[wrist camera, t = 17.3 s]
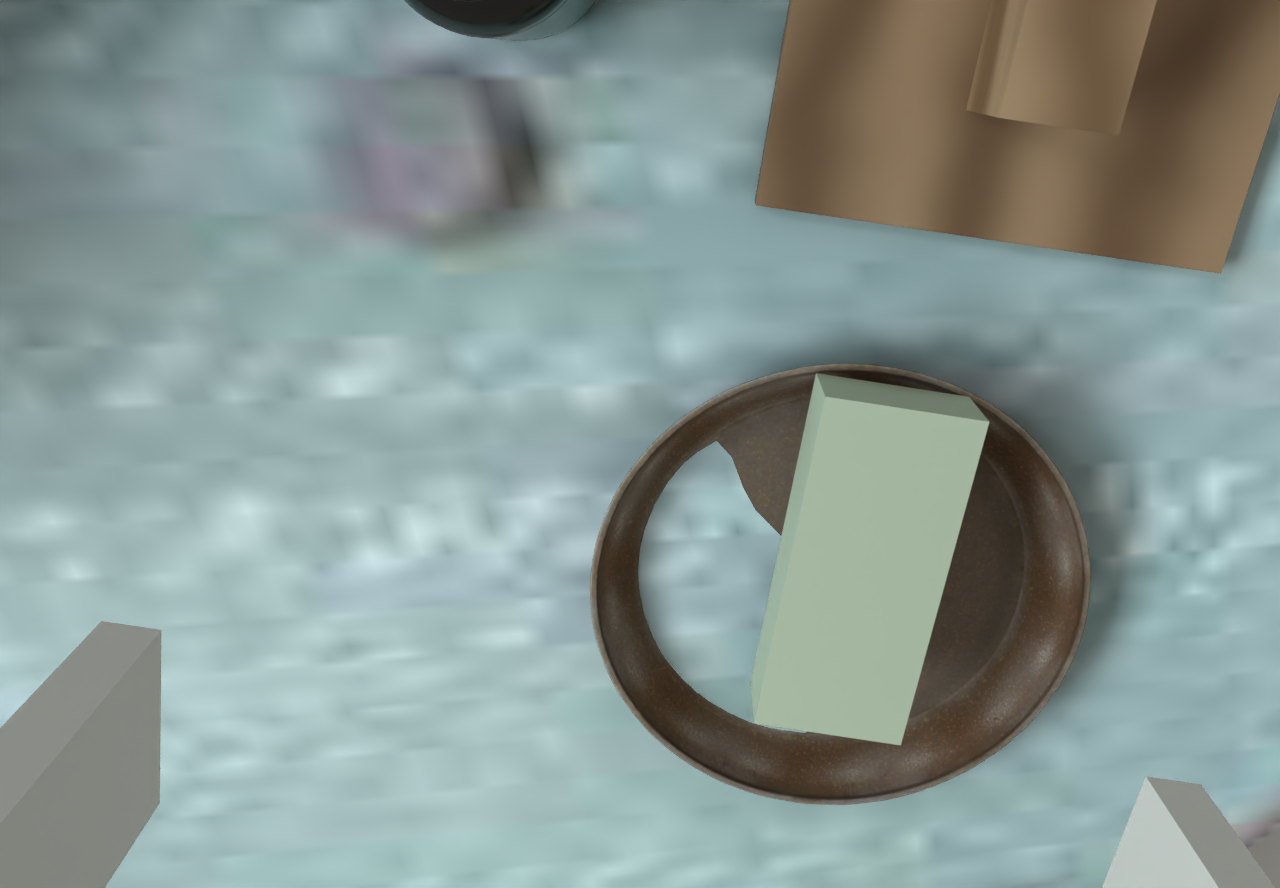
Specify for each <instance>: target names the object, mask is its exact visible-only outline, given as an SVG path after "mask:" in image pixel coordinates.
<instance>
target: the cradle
mask: <svg viewBox="0 0 1280 888" xmlns="http://www.w3.org/2000/svg"><path fill="white" fill-rule="evenodd" d="M1279 94H1280V0H790V1H789V7H788V13H787V19H786V24H785V30H784V36H783V42H782V47H781V53H780V59H779V65H778V70H777V76H776V82H775V88H774V94H773V99H772V105H771V111H770V117H769V122H768V128H767V134H766V140H765V145H764V151H763V157H762V163H761V169H760V174H759V180H758V186H757V192H756V197H755V203H756V205H758V206H765V207H771V208H778V209H785V210H792V211H799V212H805V213H812V214H819V215H826V216H833V217H839V218H846V219H853V220H860V221H867V222H873V223H880V224H887V225H894V226H901V227H908V228H914V229H921V230H928V231H935V232H942V233H948V234H955V235H962V236H969V237H976V238H982V239H989V240H996V241H1003V242H1010V243H1016V244H1023V245H1030V246H1037V247H1044V248H1050V249H1057V250H1064V251H1071V252H1078V253H1085V254H1091V255H1098V256H1105V257H1112V258H1119V259H1125V260H1132V261H1139V262H1146V263H1153V264H1159V265H1166V266H1173V267H1180V268H1187V269H1193V270H1200V271H1207V272H1214V273H1221V272H1222V269H1223V266H1224V263H1225V259H1226V256H1227V253H1228V250H1229V247H1230V244H1231V241H1232V238H1233V235H1234V232H1235V229H1236V226H1237V223H1238V220H1239V217H1240V214H1241V210H1242V207H1243V204H1244V201H1245V198H1246V195H1247V192H1248V189H1249V186H1250V183H1251V180H1252V177H1253V174H1254V171H1255V168H1256V164H1257V161H1258V158H1259V155H1260V152H1261V149H1262V146H1263V143H1264V140H1265V137H1266V134H1267V131H1268V128H1269V125H1270V122H1271V119H1272V115H1273V112H1274V109H1275V106H1276V103H1277V100H1278V97H1279Z"/></svg>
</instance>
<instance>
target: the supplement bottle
mask: <svg viewBox="0 0 1280 888" xmlns="http://www.w3.org/2000/svg"><path fill="white" fill-rule="evenodd" d="M404 1H405V2H406V3H407V4H408V5H409V6H410V7H412V8H413V9H414V10H415V11H416V12H418V13H419V14H420V15H422V16H423V17H425V18H426V19H428V20H429V21H431V22H433V23H435V24H436V25H438V26H441V27H443V28H445V29H447V30H450V31H453V32H456V33H459V34H463V35H467V36H472V37H481V38H491V39H501V40H512V41H527V40H536V39H541V38H545V37H549V36H552V35H554V34H557V33H559V32H561V31H563V30H565V29H566V28H568V27H570V26H571V25H572V24H574V23H575V22H577V21H578V20H579V19H580V18H581V17H582V16H583V15H584V14H585V13H586V12H587V11H588V10H589V9H590V8H591V6H592V5H593V4H594V2H595V1H596V0H404Z"/></svg>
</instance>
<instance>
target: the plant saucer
mask: <svg viewBox="0 0 1280 888" xmlns="http://www.w3.org/2000/svg"><path fill="white" fill-rule="evenodd" d="M816 373H818V374H825V375H831V376H838V377H844V378H851V379H857V380H864V381H870V382H877V383H883V384H890V385H896V386H903V387H909V388H915V389H922V390H928V391H935V392H941V393H948V394H954V395H961V396H967V397H970V398H971V400H972V401H973V402H974V403H975V405H976V406H977V407H978V408H979V410H980V411H981V412H982V413H983V414H984V416H985V417H986V418H987V419H988V421H989V425H988V429H987V433H986V436H985V440H984V443H983V447H982V451H981V454H980V458H979V462H978V465H977V469H976V473H975V476H974V480H973V484H972V487H971V491H970V495H969V498H968V502H967V506H966V509H965V513H964V516H963V520H962V524H961V527H960V531H959V535H958V538H957V542H956V546H955V549H954V553H953V557H952V560H951V564H950V568H949V571H948V575H947V578H946V582H945V586H944V589H943V593H942V597H941V600H940V604H939V608H938V611H937V615H936V619H935V622H934V626H933V630H932V633H931V637H930V641H929V644H928V648H927V651H926V655H925V659H924V662H923V666H922V670H921V673H920V677H919V681H918V684H917V688H916V692H915V695H914V699H913V703H912V706H911V710H910V714H909V717H908V721H907V724H906V728H905V732H904V735H903V739H902V743H901V745H894V744H888V743H881V742H874V741H868V740H861V739H854V738H848V737H841V736H834V735H828V734H821V733H814V732H808V731H807V732H806V733H800V732H792V731H782V730H777V729H771V728H767V727H764V726H760V725H756V724H753V723H750V722H748V721H745V720H743V719H741V718H738V717H736V716H734V715H732V714H730V713H728V712H726V711H724V710H723V709H721V708H719V707H717V706H716V705H714V704H712V703H711V702H709V701H707V700H706V699H705V698H703V697H702V696H701V695H700V694H698V693H696V692H695V691H694V690H693V689H692V688H691V687H690V686H689V685H688V684H687V683H686V682H684V681H683V680H682V679H681V678H680V676H679V675H678V674H677V673H676V672H675V671H674V669H673V668H672V667H671V666H670V664H669V663H668V662H667V660H666V659H665V658H664V656H663V655H662V653H661V652H660V650H659V648H658V647H657V645H656V642H655V640H654V639H653V637H652V635H651V632H650V629H649V627H648V624H647V621H646V619H645V616H644V612H643V608H642V603H641V598H640V592H639V581H638V562H639V553H640V546H641V542H642V538H643V533H644V530H645V527H646V524H647V521H648V518H649V516H650V514H651V511H652V509H653V506H654V504H655V502H656V501H657V499H658V497H659V496H660V494H661V492H662V491H663V489H664V487H665V486H666V484H667V483H668V481H669V480H670V479H671V478H672V476H673V475H674V474H675V472H676V471H677V470H678V469H679V468H680V467H681V466H682V464H683V463H684V462H686V461H687V460H688V459H689V458H690V457H692V456H693V455H694V454H695V453H697V452H698V451H700V450H701V449H703V448H705V447H706V446H708V445H710V444H711V443H713V442H715V441H718V442H719V444H720V445H721V446H722V447H723V448H724V449H725V450H726V451H727V452H728V453H729V454H730V455H731V457H732V458H733V461H734V464H735V466H736V469H737V472H738V474H739V477H740V480H741V482H742V485H743V488H744V490H745V491H746V493H747V495H748V497H749V499H750V500H751V502H752V504H753V506H754V508H755V510H756V511H757V512H758V513H759V514H760V515H761V516H762V517H763V518H764V519H765V520H766V521H767V522H768V523H769V524H770V525H771V526H772V527H773V528H774V529H775V530H776V531H777V532H778V533H779V534H780V535H781V536H782V531H783V526H784V522H785V517H786V512H787V508H788V503H789V498H790V493H791V489H792V484H793V479H794V475H795V470H796V465H797V460H798V456H799V451H800V446H801V442H802V437H803V432H804V428H805V423H806V418H807V413H808V409H809V404H810V399H811V395H812V390H813V385H814V380H815V376H816ZM1090 580H1091V573H1090V559H1089V550H1088V545H1087V539H1086V534H1085V530H1084V527H1083V523H1082V520H1081V516H1080V513H1079V510H1078V508H1077V505H1076V502H1075V500H1074V498H1073V496H1072V494H1071V492H1070V490H1069V488H1068V486H1067V484H1066V482H1065V480H1064V478H1063V477H1062V475H1061V474H1060V472H1059V471H1058V469H1057V467H1056V466H1055V464H1054V463H1053V462H1052V461H1051V459H1050V458H1049V457H1048V455H1047V454H1046V453H1045V452H1044V450H1043V449H1042V448H1041V447H1040V446H1039V445H1038V443H1037V442H1036V441H1035V440H1034V439H1033V438H1032V437H1031V436H1030V435H1029V434H1028V433H1027V432H1026V431H1025V430H1024V429H1023V428H1022V427H1020V426H1019V425H1018V424H1017V423H1016V422H1015V421H1013V420H1012V419H1011V418H1009V417H1008V416H1007V415H1005V414H1004V413H1003V412H1001V411H1000V410H999V409H997V408H996V407H994V406H993V405H991V404H989V403H988V402H986V401H984V400H983V399H981V398H979V397H977V396H975V395H973V394H972V393H970V392H967V391H965V390H963V389H961V388H959V387H957V386H955V385H952V384H950V383H947V382H945V381H942V380H939V379H936V378H933V377H930V376H927V375H923V374H920V373H917V372H913V371H908V370H904V369H899V368H893V367H886V366H879V365H869V364H827V365H816V366H808V367H801V368H796V369H791V370H787V371H782V372H777V373H774V374H771V375H767V376H764V377H761V378H758V379H755V380H752V381H749V382H747V383H744V384H741V385H739V386H737V387H734V388H732V389H730V390H728V391H726V392H724V393H722V394H720V395H718V396H716V397H714V398H712V399H710V400H708V401H707V402H705V403H703V404H701V405H700V406H698V407H697V408H695V409H694V410H692V411H691V412H689V413H688V414H686V415H685V416H684V417H682V418H681V419H680V420H678V421H677V422H676V423H674V424H673V425H672V426H671V427H670V428H668V429H667V430H666V431H665V432H664V433H663V434H662V435H661V436H660V437H659V438H658V439H657V440H656V441H655V442H654V443H652V444H651V445H650V446H649V448H648V449H647V450H646V451H645V452H644V453H643V455H642V456H641V457H640V458H639V459H638V461H637V462H636V463H635V465H634V466H633V467H632V468H631V470H630V471H629V473H628V474H627V476H626V477H625V479H624V480H623V482H622V483H621V485H620V486H619V488H618V490H617V492H616V493H615V495H614V497H613V499H612V501H611V503H610V505H609V508H608V510H607V512H606V515H605V517H604V520H603V523H602V526H601V528H600V531H599V535H598V538H597V542H596V545H595V550H594V555H593V562H592V569H591V579H590V601H591V614H592V622H593V627H594V632H595V637H596V640H597V644H598V648H599V651H600V653H601V656H602V659H603V661H604V664H605V667H606V669H607V672H608V674H609V676H610V678H611V680H612V682H613V684H614V686H615V687H616V689H617V691H618V693H619V694H620V696H621V697H622V699H623V700H624V701H625V703H626V704H627V706H628V707H629V709H630V710H631V711H632V713H633V714H634V715H635V717H636V718H637V719H638V720H639V721H640V723H641V724H642V725H643V726H644V727H645V728H646V729H647V730H648V731H649V732H650V733H651V734H652V735H653V736H654V737H655V738H656V739H657V740H658V741H659V742H661V743H662V744H663V745H664V746H665V747H666V748H667V749H669V750H670V751H671V752H673V753H674V754H675V755H677V756H678V757H679V758H681V759H682V760H684V761H685V762H687V763H688V764H689V765H691V766H693V767H695V768H696V769H698V770H700V771H702V772H703V773H705V774H707V775H709V776H711V777H713V778H715V779H717V780H719V781H722V782H724V783H726V784H728V785H731V786H734V787H736V788H739V789H742V790H745V791H747V792H750V793H754V794H757V795H761V796H765V797H769V798H774V799H779V800H785V801H790V802H796V803H805V804H828V805H848V804H860V803H868V802H876V801H883V800H888V799H893V798H897V797H901V796H905V795H909V794H912V793H916V792H919V791H922V790H925V789H927V788H931V787H934V786H936V785H938V784H940V783H942V782H945V781H947V780H950V779H952V778H954V777H956V776H958V775H960V774H962V773H964V772H966V771H968V770H969V769H971V768H973V767H975V766H976V765H978V764H980V763H982V762H983V761H984V760H986V759H987V758H988V757H990V756H991V755H993V754H995V753H996V752H997V751H998V750H1000V749H1002V748H1003V747H1004V746H1005V745H1007V744H1008V743H1009V742H1010V741H1011V740H1012V739H1013V738H1015V737H1016V736H1017V735H1018V734H1019V733H1021V732H1022V731H1023V730H1024V729H1025V728H1026V727H1027V726H1028V725H1029V724H1030V722H1031V721H1032V720H1033V719H1034V718H1035V717H1036V716H1037V714H1038V713H1039V712H1040V711H1041V710H1042V708H1043V707H1044V706H1045V704H1046V703H1047V702H1048V700H1049V699H1050V698H1051V696H1052V695H1053V694H1054V692H1055V691H1056V690H1057V688H1058V687H1059V685H1060V683H1061V681H1062V679H1063V678H1064V676H1065V674H1066V673H1067V671H1068V669H1069V667H1070V665H1071V663H1072V661H1073V659H1074V657H1075V654H1076V651H1077V648H1078V646H1079V643H1080V640H1081V637H1082V633H1083V630H1084V626H1085V622H1086V618H1087V610H1088V605H1089V598H1090Z"/></svg>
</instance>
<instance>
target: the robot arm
mask: <svg viewBox="0 0 1280 888" xmlns="http://www.w3.org/2000/svg"><path fill="white" fill-rule="evenodd" d="M160 713H161V630H157V629H150V628H144V627H137V626H130V625H123V624H117V623H110V622H103V621H101V622H100V623H99V624H98V625H97V627H96V628H95V629H94V630H93V631H92V632H91V633H90V634H89V635H88V636H87V637H86V638H85V639H84V640H83V641H82V642H81V643H80V645H79V646H78V647H77V648H76V649H75V650H74V651H73V652H72V653H71V654H70V655H69V656H68V657H67V658H66V659H65V660H64V661H63V663H62V664H61V665H60V666H59V667H58V668H57V669H56V670H55V671H54V672H53V673H52V674H51V675H50V676H49V677H48V678H47V679H46V681H45V682H44V683H43V684H42V685H41V686H40V687H39V688H38V689H37V690H36V691H35V692H34V693H33V694H32V695H31V696H30V697H29V698H28V700H27V701H26V702H25V703H24V704H23V705H22V706H21V707H20V708H19V709H18V710H17V711H16V712H15V713H14V714H13V715H12V716H11V718H10V719H9V720H8V721H7V722H6V723H5V724H4V725H3V726H2V727H1V728H0V888H105V887H106V885H107V883H108V882H109V880H110V879H111V877H112V876H113V874H114V873H115V871H116V870H117V868H118V866H119V865H120V863H121V862H122V860H123V859H124V857H125V856H126V854H127V853H128V851H129V849H130V848H131V846H132V845H133V843H134V842H135V840H136V839H137V837H138V836H139V834H140V832H141V831H142V829H143V828H144V826H145V825H146V823H147V822H148V820H149V819H150V817H151V815H152V814H153V812H154V811H155V809H156V808H157V806H158V805H159V803H160ZM1102 888H1275V887H1274V885H1273V884H1272V883H1271V881H1270V880H1269V878H1268V877H1267V876H1266V874H1265V873H1264V871H1263V870H1262V869H1261V867H1260V866H1259V864H1258V863H1257V862H1256V860H1255V859H1254V858H1253V856H1252V855H1251V853H1250V852H1249V851H1248V849H1247V848H1246V846H1245V845H1244V844H1243V842H1242V841H1241V839H1240V838H1239V837H1238V835H1237V834H1236V832H1235V831H1234V830H1233V828H1232V827H1231V826H1230V824H1229V823H1228V821H1227V820H1226V819H1225V817H1224V816H1223V814H1222V813H1221V812H1220V810H1219V809H1218V807H1217V806H1216V805H1215V803H1214V802H1213V801H1212V799H1211V798H1210V796H1209V795H1208V794H1207V792H1206V791H1205V789H1204V788H1203V787H1202V785H1200V784H1193V783H1186V782H1180V781H1173V780H1166V779H1160V778H1153V777H1145V780H1144V783H1143V785H1142V788H1141V790H1140V793H1139V795H1138V798H1137V800H1136V803H1135V805H1134V808H1133V810H1132V813H1131V815H1130V818H1129V821H1128V823H1127V826H1126V828H1125V831H1124V833H1123V836H1122V838H1121V841H1120V843H1119V846H1118V848H1117V851H1116V853H1115V856H1114V859H1113V861H1112V864H1111V866H1110V869H1109V871H1108V874H1107V876H1106V879H1105V881H1104V884H1103V886H1102Z"/></svg>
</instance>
